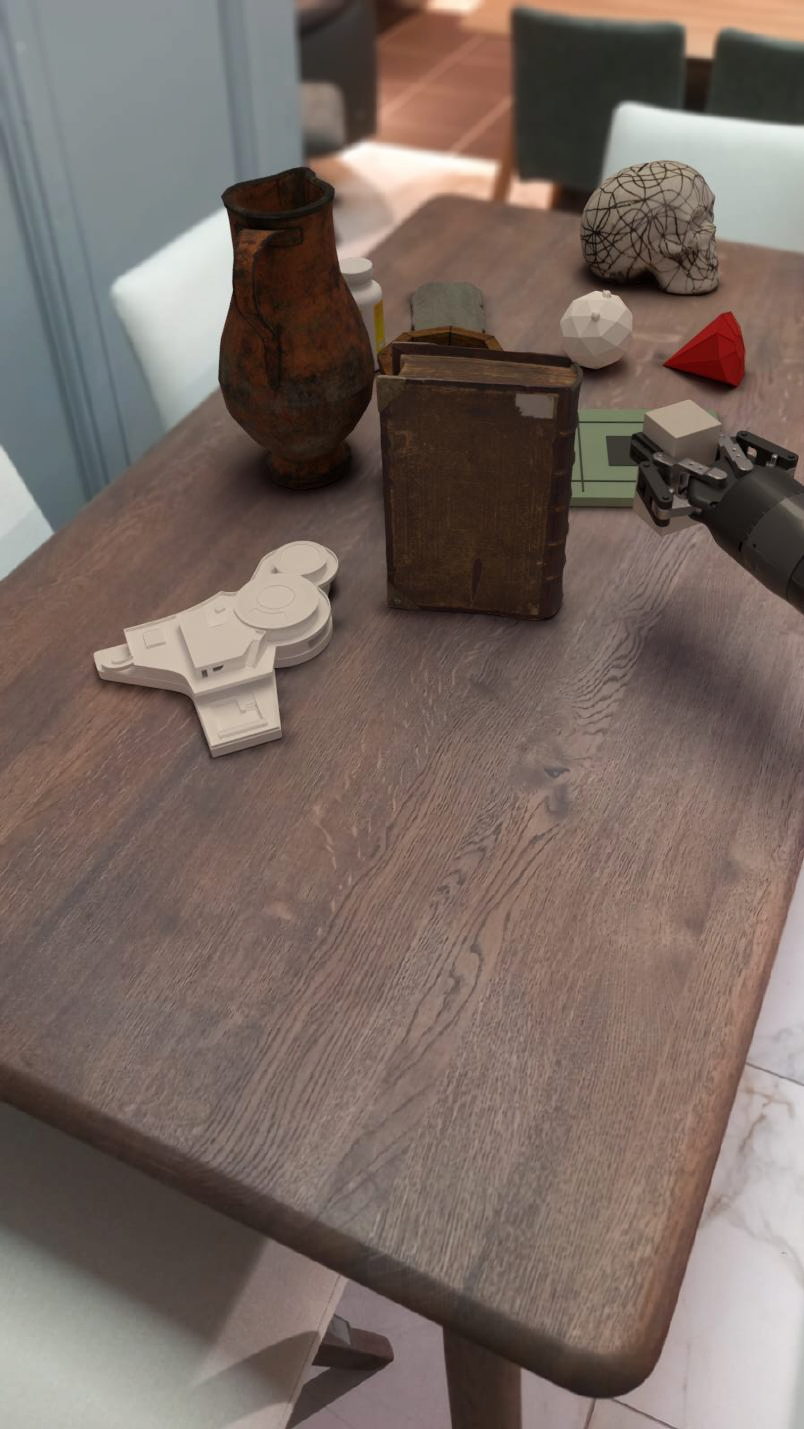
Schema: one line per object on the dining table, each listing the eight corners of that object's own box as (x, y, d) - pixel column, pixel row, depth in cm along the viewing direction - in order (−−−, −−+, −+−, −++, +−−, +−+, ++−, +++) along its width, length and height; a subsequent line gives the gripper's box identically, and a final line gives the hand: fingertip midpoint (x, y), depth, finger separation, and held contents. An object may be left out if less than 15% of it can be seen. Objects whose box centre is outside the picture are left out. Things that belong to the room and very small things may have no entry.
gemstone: (642, 375, 133) (721, 357, 127) (651, 315, 136) (730, 294, 130) (672, 415, 140) (748, 399, 134) (680, 356, 142) (756, 338, 136)
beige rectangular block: (674, 496, 101) (689, 398, 94) (704, 522, 98) (722, 423, 91) (631, 510, 100) (644, 412, 93) (660, 537, 97) (676, 438, 90)
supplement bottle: (373, 347, 144) (368, 249, 135) (394, 369, 140) (390, 269, 131) (326, 359, 142) (317, 260, 133) (346, 381, 138) (338, 281, 129)
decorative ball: (641, 402, 136) (619, 325, 127) (564, 399, 142) (538, 325, 133) (665, 352, 140) (645, 273, 130) (589, 351, 145) (565, 275, 136)
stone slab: (479, 299, 155) (409, 293, 154) (482, 280, 153) (411, 274, 152) (489, 380, 139) (411, 374, 139) (493, 360, 137) (414, 354, 137)
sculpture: (666, 317, 147) (683, 201, 136) (555, 273, 157) (562, 162, 147) (735, 280, 153) (755, 167, 143) (623, 241, 164) (635, 133, 153)
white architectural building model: (84, 620, 107) (72, 584, 104) (327, 557, 113) (323, 521, 110) (127, 782, 92) (115, 746, 89) (405, 701, 98) (403, 664, 94)
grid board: (713, 418, 129) (715, 408, 128) (735, 508, 116) (737, 497, 115) (542, 417, 130) (542, 407, 129) (545, 506, 118) (545, 495, 117)
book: (567, 591, 107) (588, 353, 90) (553, 638, 103) (573, 397, 85) (404, 566, 111) (393, 333, 93) (383, 610, 107) (368, 373, 89)
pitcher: (395, 428, 130) (382, 159, 108) (352, 535, 115) (327, 250, 94) (261, 418, 132) (222, 154, 111) (202, 521, 118) (145, 240, 97)
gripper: (872, 470, 84) (734, 373, 95) (717, 524, 80) (592, 416, 91) (848, 549, 89) (720, 449, 100) (701, 603, 85) (585, 492, 97)
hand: (660, 434), depth 96 cm, fingers closed on beige rectangular block, 4 cm apart
